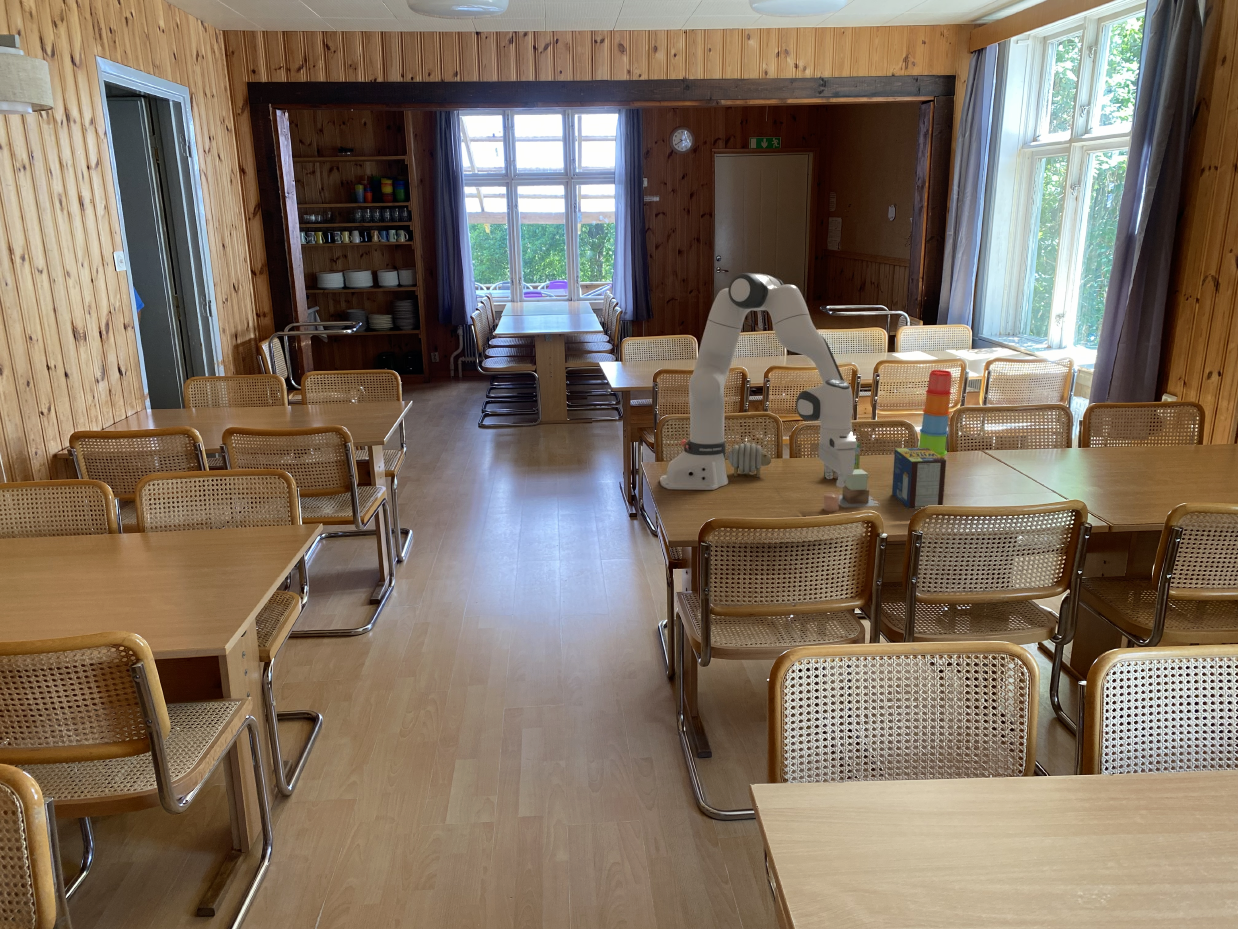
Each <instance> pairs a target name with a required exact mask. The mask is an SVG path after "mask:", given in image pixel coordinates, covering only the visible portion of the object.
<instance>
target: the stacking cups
mask: <svg viewBox="0 0 1238 929" xmlns="http://www.w3.org/2000/svg"><path fill="white" fill-rule="evenodd" d="M952 376H953V374H952V372H951V371H949V370H944V369H943V370H942V369H934V370H933V369H932V370H931V371H930V372H929V376H928V382H927V383H928V384H927V390H925V393H926V397H925V403H924V404H925V405H924V409H922V413H923V416H922V422H921V428H920V429H919V433H920V434H919V442H918V447H917V448H929V449H930V450H932V451H933V452H935V453H936V454H938V455H939V456H941V457H942V458H944V459H945V457H946V455H947V454H948V452H947V450H946V447H947V446H946V445H947V435H948V434H949V430H948V425H949V423H948V422H949V415H950V414H951V412H950V411H949V410H950V401H951V395H952V391H951V387H952V386H951V385H952V378H953V377H952Z"/></svg>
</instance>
